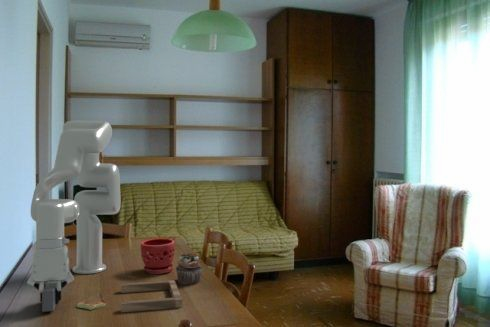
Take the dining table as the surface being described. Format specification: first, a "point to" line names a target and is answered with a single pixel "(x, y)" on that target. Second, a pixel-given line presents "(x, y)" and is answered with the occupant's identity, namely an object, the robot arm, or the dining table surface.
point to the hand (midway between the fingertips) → (50, 302)
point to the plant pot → (158, 255)
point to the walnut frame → (153, 303)
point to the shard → (92, 302)
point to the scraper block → (49, 296)
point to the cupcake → (188, 269)
